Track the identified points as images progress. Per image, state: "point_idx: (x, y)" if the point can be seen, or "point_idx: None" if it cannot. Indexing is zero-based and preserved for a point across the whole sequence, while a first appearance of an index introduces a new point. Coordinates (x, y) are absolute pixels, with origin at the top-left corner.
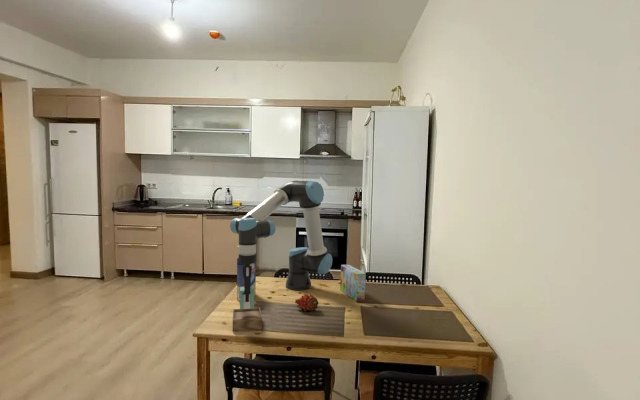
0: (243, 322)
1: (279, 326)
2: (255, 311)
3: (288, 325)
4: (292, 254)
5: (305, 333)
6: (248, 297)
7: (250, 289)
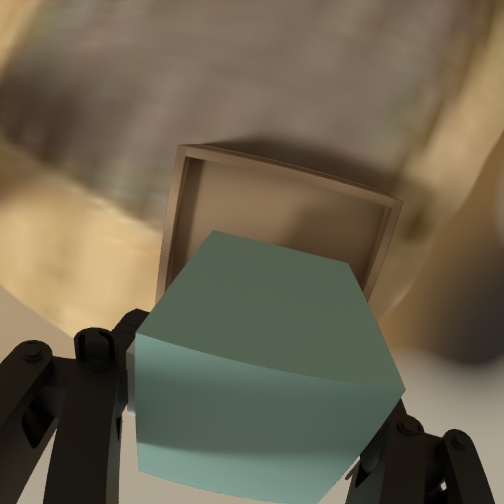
0: None
1: (383, 73)
2: (208, 189)
3: (387, 23)
4: None
5: (494, 17)
6: (398, 402)
7: (314, 427)
